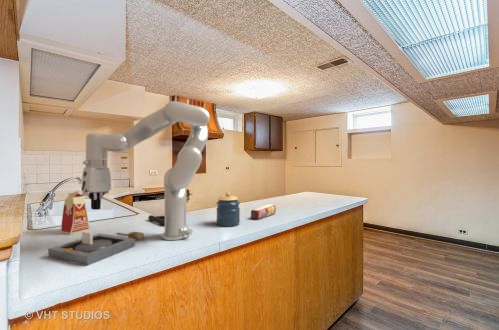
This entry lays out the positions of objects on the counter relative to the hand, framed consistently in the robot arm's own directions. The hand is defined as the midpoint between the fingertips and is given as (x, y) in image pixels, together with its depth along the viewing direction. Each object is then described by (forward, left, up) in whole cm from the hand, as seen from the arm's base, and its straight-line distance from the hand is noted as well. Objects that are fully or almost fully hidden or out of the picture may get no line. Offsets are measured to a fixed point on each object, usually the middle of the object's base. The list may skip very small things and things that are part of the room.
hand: (95, 209), depth 101 cm
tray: (-5, +5, -15) cm, 17 cm away
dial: (-5, +5, -14) cm, 15 cm away
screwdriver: (-5, -13, -15) cm, 21 cm away
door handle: (+1, -44, -16) cm, 47 cm away
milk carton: (+29, -11, -15) cm, 35 cm away
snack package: (-48, -76, -16) cm, 91 cm away
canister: (-35, -51, -15) cm, 64 cm away
